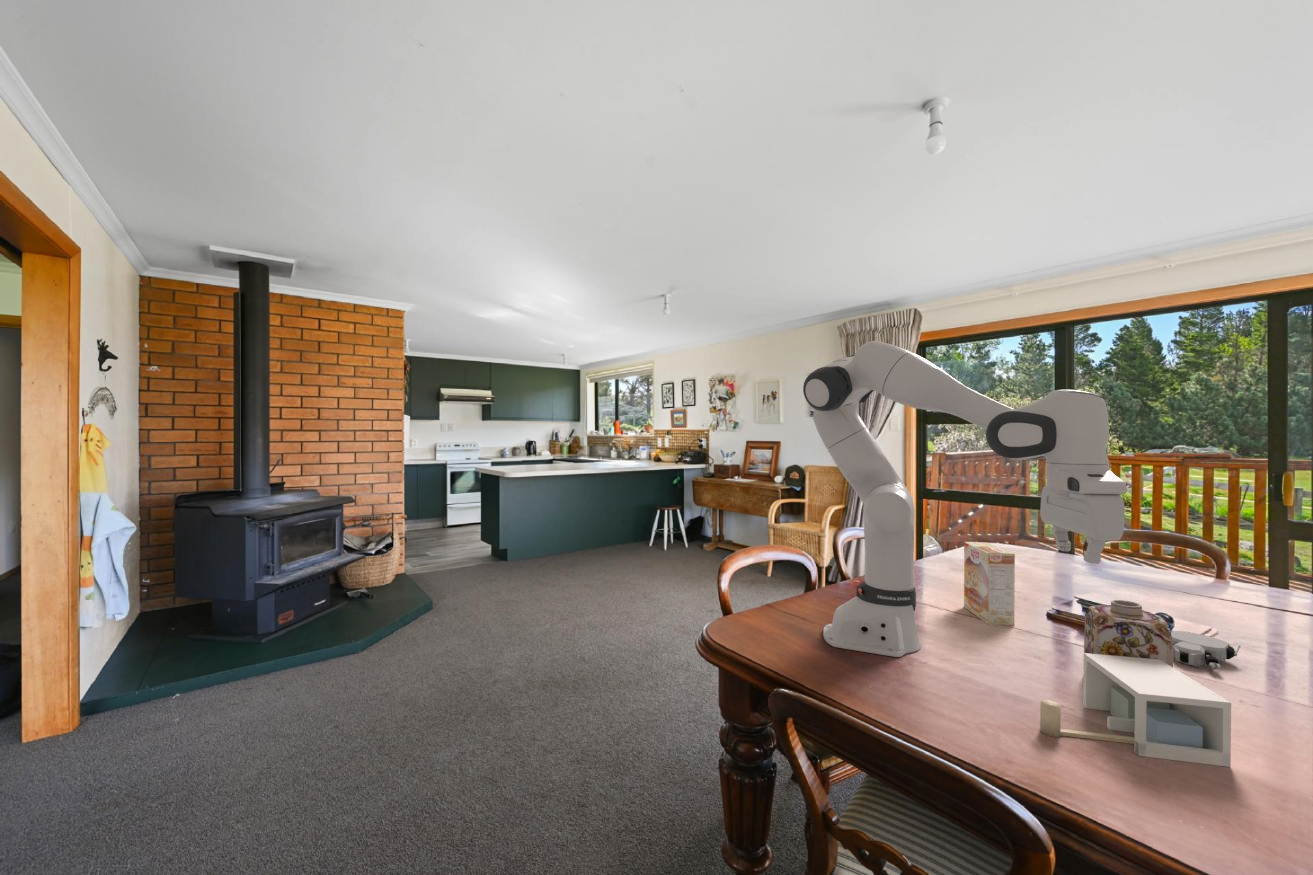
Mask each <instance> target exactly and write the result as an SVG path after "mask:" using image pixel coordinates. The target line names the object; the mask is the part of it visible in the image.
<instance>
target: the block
mask: <svg viewBox="0 0 1313 875" xmlns="http://www.w3.org/2000/svg"><path fill="white" fill-rule="evenodd" d="M1146 707H1148V708H1157V709H1167V710H1169V704H1168V703H1166V702H1156V701H1146ZM1110 714H1111V715H1112V717H1121V718H1130V719H1135V696H1133V695H1132V694H1131V693H1129V692H1128V691H1127V690H1125V689H1124V688H1119V687H1111V711H1110Z"/></svg>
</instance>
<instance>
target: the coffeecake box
mask: <svg viewBox="0 0 1313 875" xmlns="http://www.w3.org/2000/svg"><path fill="white" fill-rule="evenodd" d="M963 543H964V544H963V546H964V548H963V550H964V553H963V558H964V559H963V561H964V562H963V567H964V568H963V569H964V570H963V571H964V572H963V576H964V577H963V578H964V579H963V580H964V581H963V582H964V583H963V588H964V589H963V602H964V603H963V607H964V608H965V609H967V610H968V611H969V612H971V614H974V615H975V616H976V618H979V619H980V620H981V621H983V622H984V623H986V624H987V625H992V626H993V625H995V626H997V625H998V626H1013V627H1014V626H1015V596H1016V595H1015V592H1016V591H1015V590H1016V589H1015V585H1016V584H1015V583H1016V582H1015V581H1016V580H1015V579H1016V577H1015V576H1016V575H1015V574H1016V573H1015V569H1016V568H1015V567H1016V562H1015V561H1016V554H1015V553H1014V552H1011V551H1008V550H1006V549H1003V548H1002V547H1000V546H998V545H997V546H996V545H995V544H992V543H989V542H979V541H964V542H963Z"/></svg>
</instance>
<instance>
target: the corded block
mask: <svg viewBox="0 0 1313 875" xmlns="http://www.w3.org/2000/svg"><path fill="white" fill-rule="evenodd" d="M1039 702H1040V704H1039V705H1040V709H1039V710H1040V711H1039V712H1040V714H1039V716H1040V717H1039V719H1040V721H1039V729H1040V730H1039V731H1040V732H1041V733H1042V734H1043V735H1046V736H1048V737H1053V738H1059V737H1061V736H1062V737H1063V736H1065V737H1072V738H1073V737H1074V738H1083V739H1088V740H1089V739H1090V740H1097V741H1098V740H1099V741H1106V742H1115V743H1122V744H1123V743H1124V744H1133V745H1134V742H1135V736H1133V737H1132V736H1125V735H1118V734H1117V735H1116V734H1109V733H1108V734H1107V733H1100V732H1099V733H1098V732H1090V731H1081V730H1076V729H1075V730H1071V729H1066V728H1062V727H1061V726H1062V725H1061V719H1062V718H1061V714H1062V713H1061V709H1062V707H1061V706H1062V705H1061V704H1060V703H1059V702H1056V701H1054V700H1051V699H1040V701H1039ZM1146 742H1152V743H1160V744H1169V745H1177V746H1186V747H1195V748H1203V727H1202V726H1201V725H1199V724H1198V723H1196V722H1195V721H1194V720H1192V719H1191V718H1189V717H1188V716H1186V715H1185V714H1184V713H1182V712H1181V711H1176V710H1167V709H1157V708H1148V707H1146Z"/></svg>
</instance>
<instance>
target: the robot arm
mask: <svg viewBox="0 0 1313 875" xmlns="http://www.w3.org/2000/svg"><path fill="white" fill-rule="evenodd" d="M802 388H803V389H802V391H803V396H804V399H805V401H806V403H808V405H809V406H810V407H811V408H813V409H814V411H813V414H812V419H813V423H814V425H815V428H816V430H817V432H818V433H817V434H818V435H819V437H820V439H821V441H822V443H823V445H824V446H825V448H826V450H827V451H828V453H829V455H830V456H831V458H832V460H833V461H834V463H835V465H836V466H837V468H838V470H839V471H840V473H841V475H842V477H844V479H845V480H846V481H847V483H848V484H849V485H850V486H851V488H852V489H853V491H854V492H855V493H856V495H857V497H858V498H859V499H860V500H861V502H862V504H863V531H864V532H863V534H864V538H863V539H864V581H862V582H861V581H860V580H858V579H854V580H853V581H852V587H853V589H855V591H856V592H855V596H854V597H852V598H851V599H849V600H848V601H846V602H845V603H843V604H841V605H839V606H838V607H837V608H836V609H835V611H834V613H833V617H832V621H831V622H832V623H827V624H826V625H825V626H824V627H823V629H822V630H823V631H822V636H823V639H824V641H825V642H826V643H827V644H829V645H830V646H832V647H833V648H838V649H843V650H851V651H857V652H863V653H870V654H876V655H881V656H888V657H895V658H900V657H903V656H904V655H906V654H910V653H914V652H917V651H919V650H920V649H921V648H922V644H921V642H920V638H919V634H918V630H917V629H918V628H917V624H916V615H915V611H916V607H917V592H916V587H915V586H914V583H915V582H914V580H915V578H914V576H915V575H914V569H915V568H914V567H915V566H914V565H915V564H914V563H915V560H914V558H915V554H914V553H915V518H916V517H915V514H916V513H915V504H914V500H913V496H912V494H911V493H910V491H909V490H908V488H907V486H906V485H905V484H904V482H903V480H902V479H901V478H900V476H899V474H898V473H897V471H896V470H895V468H894V467H893V465H892V464H891V462H890V461H889V459H888V458H887V456H886V455H885V454H884V451H883V450H882V449H881V447H880V446H879V444H878V443H877V441H876V439H875V438H874V437H873V434H872V433H871V431H870V430H869V428H868V427H867V425H866V424H865V423H864V420H862V418H861V416H860V414H859V411H858V405H859V403H860V404H861V403H862V404H863V403H865V402H866V401H867V400H868V398H869V397H870V395H871V394H872V393H873V392H876V393H877V394H880V395H881V396H883V397H885V398H887V399H888V400H891V401H893V402H895V403H898V404H900V405H903V406H906V407H909V408H913V409H917V410H925V411H927V410H928V411H933V412H939V413H946V414H950V415H952V416H956V417H958V418H960V419H962V420H965V421H967V422H969V423H971V424H973V425H975V426H977V427H979V428H981V429H983V430H985V439H986V442H987V443H986V444H987V445H988V447H989V448H990V450H992V451H993V453H995V454H996V455H998V456H1001V457H1002V458H1005V459H1008V460H1015V461H1020V460H1021V461H1023V460H1030V461H1036V460H1042V459H1045V460H1046V485H1044V486H1043V487H1042V491H1041V497H1040V510H1039V514H1040V519H1041V521H1042V522H1043V523H1046V524H1049V525H1052V532H1053V536H1054V539H1055V547H1056V549H1057V550H1058V551H1061V552H1071V550H1072V542H1071V541H1070V540H1069V539H1070V538H1069V536H1068V533H1069V532H1073V533H1075V534H1079V535H1082V536H1084V537H1086V538H1085V539H1086V543H1087V547H1086V550H1083V560H1084V561H1085V562H1087V563H1088V564H1100V563H1101V557H1102V555H1101V553H1102V552H1103V551H1104V548H1105V546H1106V541H1109V542H1110V541H1111V542H1112V541H1113V542H1114V541H1115V542H1117V541H1120V540H1121V538H1122V536H1123V535H1124V531H1125V501H1124V499H1123V497H1122V496H1121V495H1126V494H1127V482H1126V481H1124V480H1123V479H1121V478H1120V477H1118V476H1117V474H1114V473H1113V471H1111V470H1110V460H1109V458H1108V454H1107V446H1108V444H1109V440H1110V423H1109V414H1108V412H1109V411H1108V408H1107V404H1106V402H1105V399H1104V398H1103V397H1102V396H1100V395H1098V394H1096V393H1094V392H1090V391H1084V390H1077V389H1076V390H1075V389H1056V390H1052V391H1051V392H1049V393H1048V394H1047V395H1045V396H1043V397H1042V398H1040V399H1038V400H1036V401H1033V402H1031V403H1029V404H1027V405H1026V404H1025V405H1024V406H1020V407H1017V408H1015V407H1011V406H1009V405H1006V404H1004V403H1002V402H1000V401H997V400H995V399H993V398H991V397H989V396H987V395H984V394H982V393H980V392H978V391H976V390H974V389H971V388H970V387H968V386H966V385H964V384H963V383H962V382H960V381H958V380H957V379H956V378H954V377H952V376H951V375H950V374H949V373H948V372H946V371H945V370H943V369H941V368H940V367H939V366H937V365H936V364H934V363H933V362H931V361H929V360H928V359H927V358H925V357H923V356H921V355H919V354H916V353H915V352H913V351H911V350H909V349H905V348H903V347H900V346H897V345H895V344H891V343H887V342H883V341H878V340H870V341H868V342H865V343H863V344H862V345H861V346H859V348H858V349H857V350H856V351H855V353H854V354H852V355H849V356H847V357H842V358H838V359H836V360H834V361H832V362H831V363H828V364H826V365H825V366H822V367H819V368H816V369H814V370H813V371H812V372H811V373H809V375H807V377H806V378H805V380H804V382H803V387H802Z"/></svg>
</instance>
